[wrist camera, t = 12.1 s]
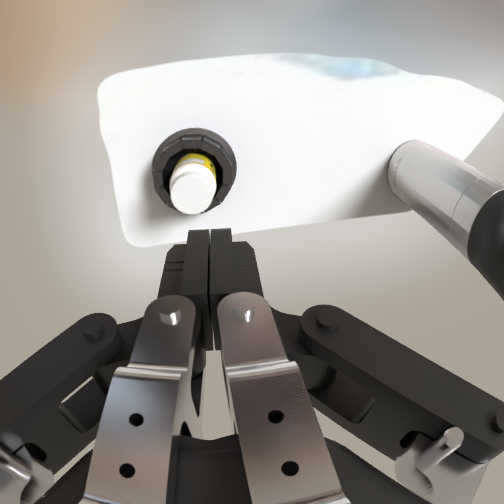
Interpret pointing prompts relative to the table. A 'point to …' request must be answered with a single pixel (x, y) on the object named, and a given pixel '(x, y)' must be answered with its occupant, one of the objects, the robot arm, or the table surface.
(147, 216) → the table surface
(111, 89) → the table surface
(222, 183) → the barrel ring
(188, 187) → the supplement bottle
